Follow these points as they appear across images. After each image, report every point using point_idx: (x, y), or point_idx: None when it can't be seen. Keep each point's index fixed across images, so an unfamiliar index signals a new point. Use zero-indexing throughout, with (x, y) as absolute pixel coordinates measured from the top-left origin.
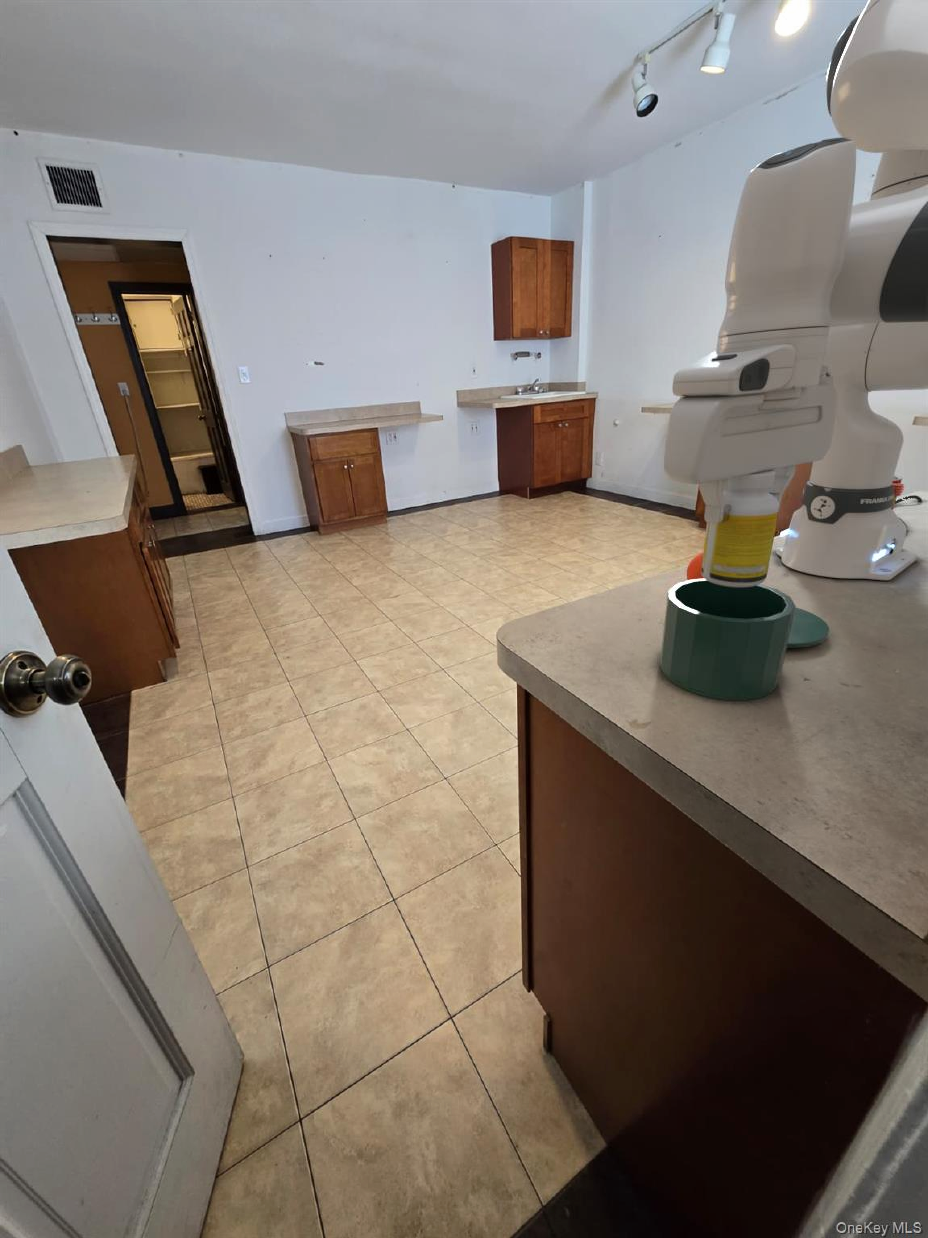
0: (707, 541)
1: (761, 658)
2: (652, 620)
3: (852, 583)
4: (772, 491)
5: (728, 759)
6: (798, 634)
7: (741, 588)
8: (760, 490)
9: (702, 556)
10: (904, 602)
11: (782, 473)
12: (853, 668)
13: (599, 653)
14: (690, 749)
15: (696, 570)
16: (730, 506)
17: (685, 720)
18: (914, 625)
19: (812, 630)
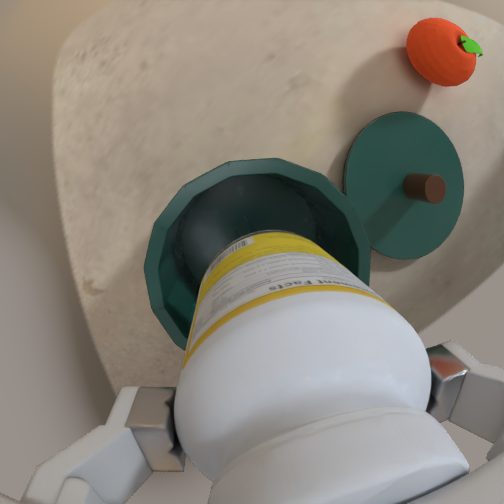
0: (195, 311)
1: None
2: (287, 68)
3: None
4: (459, 404)
5: (139, 361)
6: (405, 237)
7: (346, 230)
8: None
9: (445, 33)
10: None
11: (494, 454)
12: None
13: (137, 122)
14: (116, 339)
15: (421, 40)
16: (183, 466)
17: (138, 305)
18: (499, 265)
19: (425, 237)
